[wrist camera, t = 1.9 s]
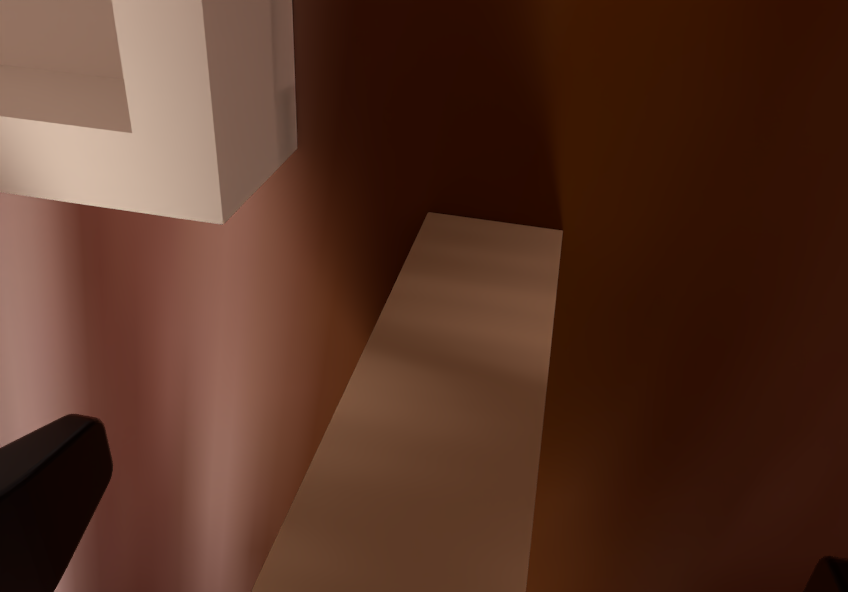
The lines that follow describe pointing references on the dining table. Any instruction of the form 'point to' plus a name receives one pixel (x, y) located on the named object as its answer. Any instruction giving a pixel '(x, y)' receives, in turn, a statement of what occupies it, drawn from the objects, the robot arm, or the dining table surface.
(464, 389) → the tan cuboid brick
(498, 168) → the dining table surface
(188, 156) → the dish
